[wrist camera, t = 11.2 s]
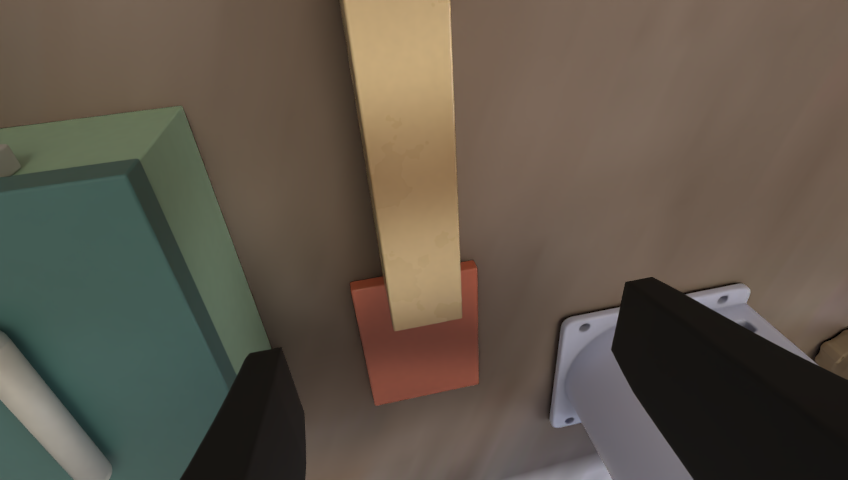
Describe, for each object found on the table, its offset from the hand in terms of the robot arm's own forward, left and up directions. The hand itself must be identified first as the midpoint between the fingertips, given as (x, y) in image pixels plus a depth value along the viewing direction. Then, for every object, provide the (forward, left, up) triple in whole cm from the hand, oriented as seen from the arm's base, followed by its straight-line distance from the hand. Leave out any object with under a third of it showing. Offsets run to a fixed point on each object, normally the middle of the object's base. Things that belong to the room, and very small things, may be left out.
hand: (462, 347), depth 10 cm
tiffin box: (+10, +2, -8) cm, 13 cm away
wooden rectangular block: (0, +2, -8) cm, 8 cm away
